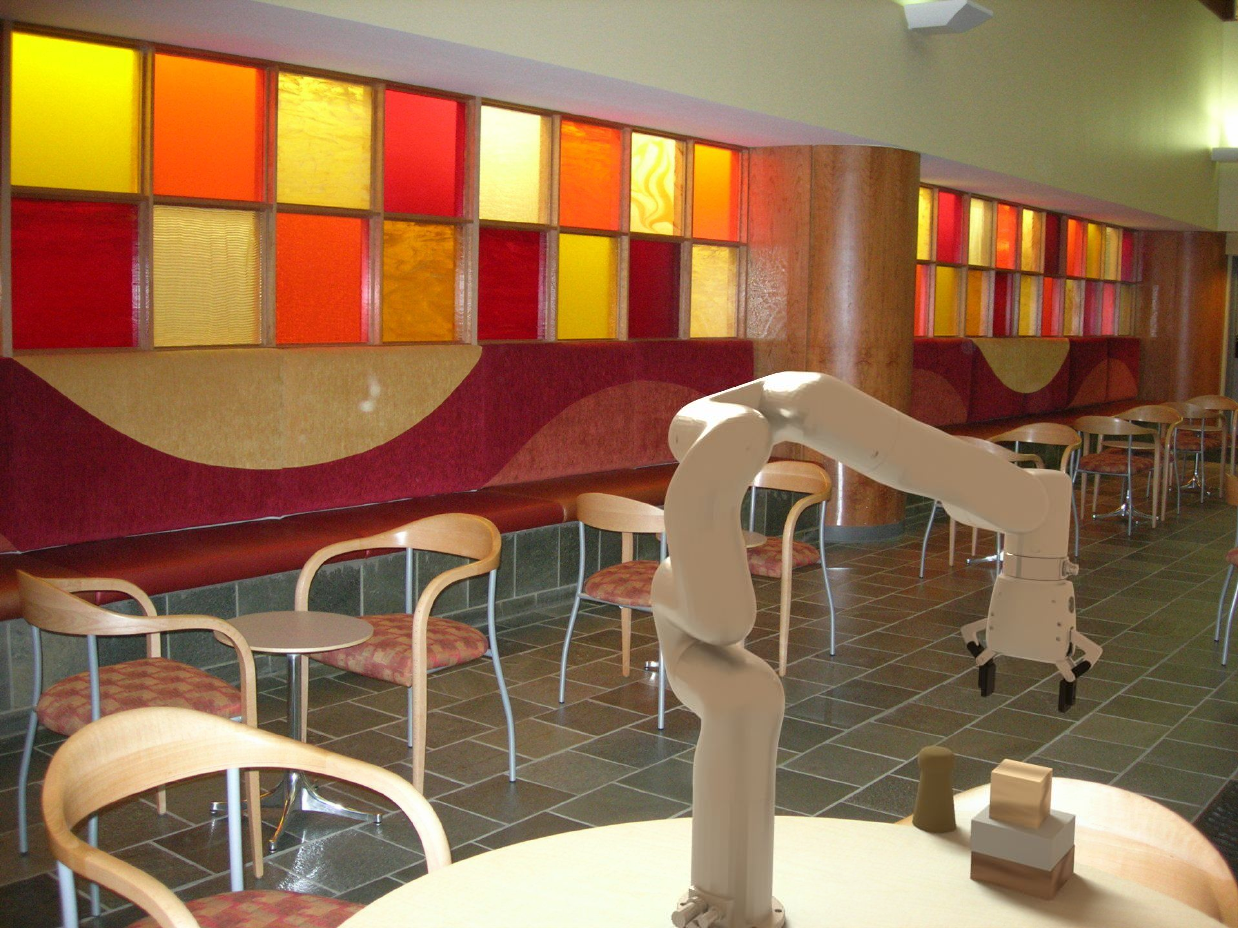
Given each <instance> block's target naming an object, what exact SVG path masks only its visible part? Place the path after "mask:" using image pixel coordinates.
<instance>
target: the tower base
mask: <svg viewBox="0 0 1238 928" xmlns="http://www.w3.org/2000/svg"><path fill="white" fill-rule="evenodd" d="M1075 850H1076V844H1074V846H1073V847H1072V848H1071V849H1070V850H1069V851H1068V852H1067V854H1066V855H1065V856H1064V857H1063V858H1062V859H1061V860H1060V861H1059V862H1058V864H1057V865H1056V866H1055V867H1054V868H1053V869H1052V870H1051V871H1047V870H1043V869H1039V868H1035V867H1032V866H1028V865H1024V864H1020V863H1016V862H1013V861H1009V860H1005V859H1001V858H997V857H994V856H990V855H986V854H982V853H978V852H975V851H971V850H970V871H969V872H970V873H969V879H970V880H975V881H978V882H981V883H985V884H987V885H988V884H989V885H993V886H995V887H999V888H1000V887H1001V888H1003V889H1007V890H1011V891H1014V892H1017V893H1021V894H1024V895H1025V894H1026V895H1029V896H1032V897H1036V898H1040V899H1042V900H1043V899H1044V900H1046V901H1050V902H1051V901H1052V899H1054V897H1055V896H1056V895H1057V894H1058V892H1059V891H1060V890H1061V889H1060V888H1062V887H1064V885H1065V884H1066V882H1067V881H1068V880H1069V879H1070V878H1071V876H1072V875H1073V874H1074V870H1075Z"/></svg>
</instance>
